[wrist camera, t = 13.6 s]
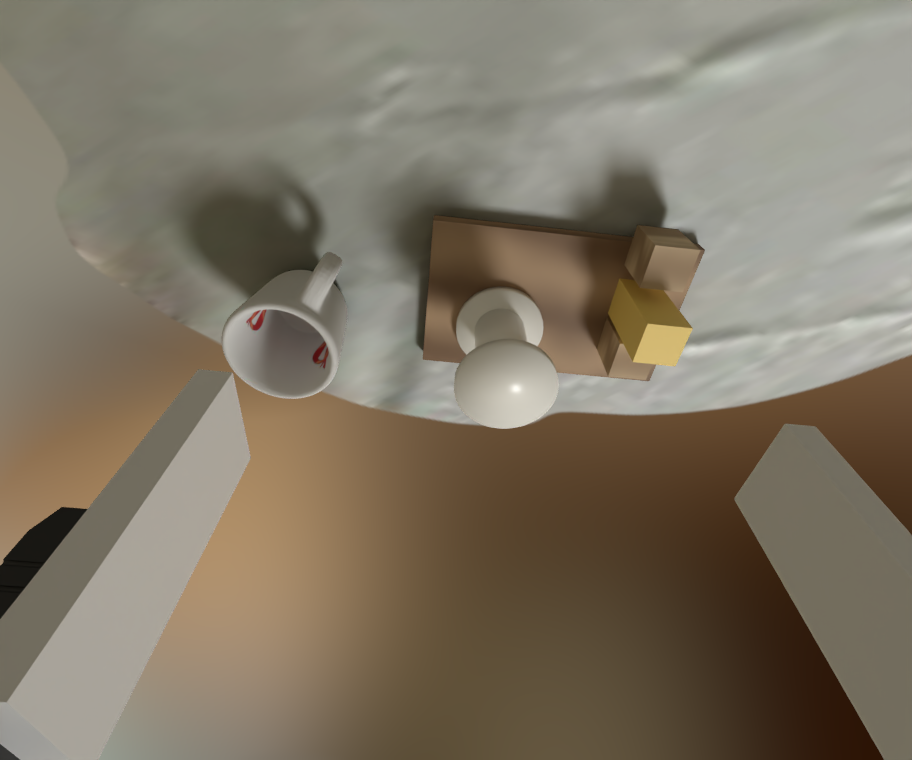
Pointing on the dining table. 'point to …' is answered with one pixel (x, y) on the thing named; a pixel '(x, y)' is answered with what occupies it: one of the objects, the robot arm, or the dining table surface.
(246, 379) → the cup
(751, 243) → the dining table surface
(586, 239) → the board
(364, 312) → the dining table surface
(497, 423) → the knob
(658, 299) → the yellow rectangular block
